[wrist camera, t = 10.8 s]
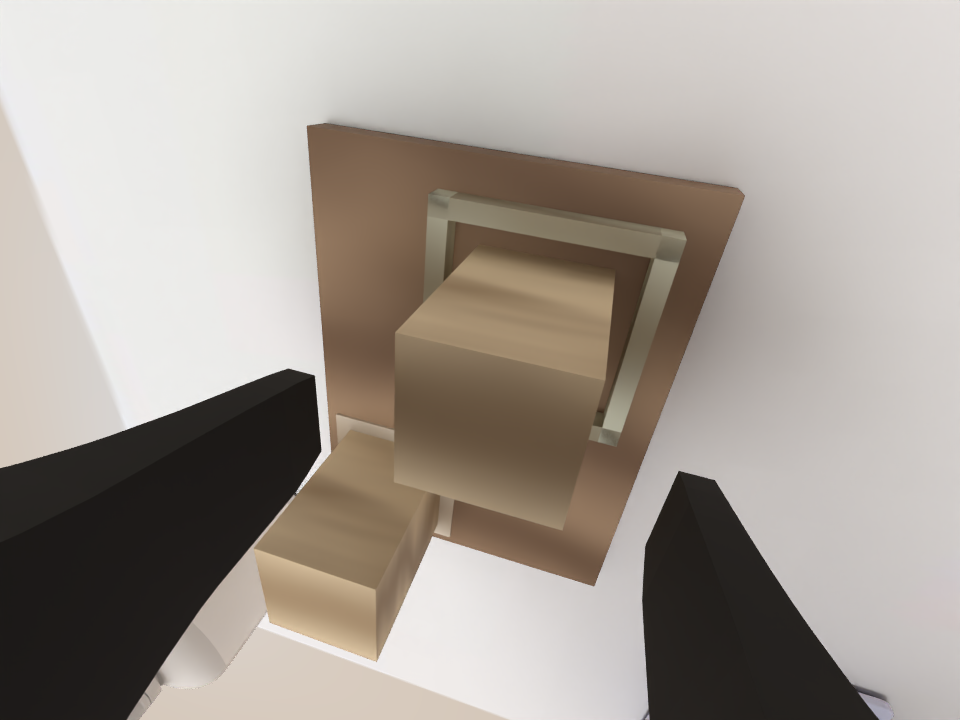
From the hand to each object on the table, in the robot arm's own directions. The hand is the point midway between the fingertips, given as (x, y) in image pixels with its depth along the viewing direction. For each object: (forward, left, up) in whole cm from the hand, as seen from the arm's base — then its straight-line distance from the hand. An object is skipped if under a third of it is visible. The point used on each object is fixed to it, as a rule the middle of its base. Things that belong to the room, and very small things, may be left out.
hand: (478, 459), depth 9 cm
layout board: (-3, +2, -8) cm, 9 cm away
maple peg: (0, 0, -7) cm, 7 cm away
